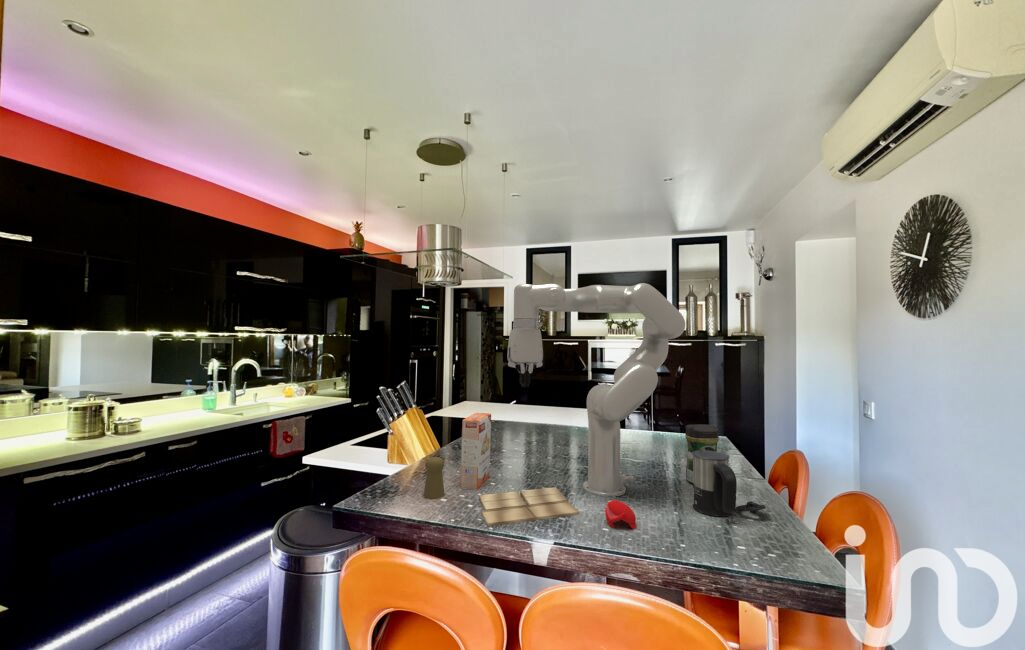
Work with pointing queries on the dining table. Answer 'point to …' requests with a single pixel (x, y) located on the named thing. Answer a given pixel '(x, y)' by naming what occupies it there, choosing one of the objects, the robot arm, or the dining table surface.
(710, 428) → the coffee jar
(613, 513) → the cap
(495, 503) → the plank
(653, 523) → the dining table surface
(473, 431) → the cracker box
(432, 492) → the cork
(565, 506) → the laid board
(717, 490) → the milk frother
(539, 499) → the plank
